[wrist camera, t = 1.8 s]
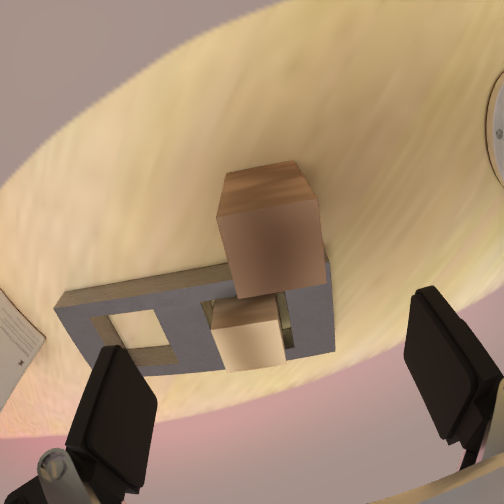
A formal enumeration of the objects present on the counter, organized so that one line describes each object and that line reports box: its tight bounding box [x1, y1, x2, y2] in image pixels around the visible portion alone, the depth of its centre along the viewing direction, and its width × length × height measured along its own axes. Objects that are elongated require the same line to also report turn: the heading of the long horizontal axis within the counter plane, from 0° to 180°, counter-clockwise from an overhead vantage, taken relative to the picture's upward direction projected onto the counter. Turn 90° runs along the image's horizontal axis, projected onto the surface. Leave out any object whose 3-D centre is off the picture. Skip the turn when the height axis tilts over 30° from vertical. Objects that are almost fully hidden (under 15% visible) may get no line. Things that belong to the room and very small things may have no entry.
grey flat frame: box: [53, 248, 335, 376], centre depth 26 cm, size 23×9×2 cm, turn 101°
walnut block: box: [216, 161, 327, 299], centre depth 19 cm, size 5×5×8 cm
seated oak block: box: [211, 293, 287, 373], centre depth 25 cm, size 5×5×5 cm
